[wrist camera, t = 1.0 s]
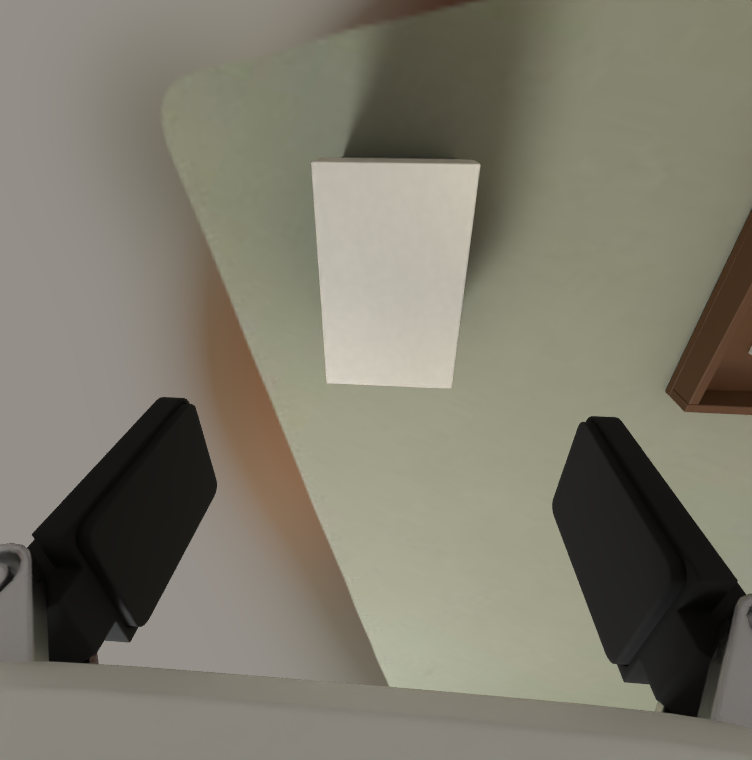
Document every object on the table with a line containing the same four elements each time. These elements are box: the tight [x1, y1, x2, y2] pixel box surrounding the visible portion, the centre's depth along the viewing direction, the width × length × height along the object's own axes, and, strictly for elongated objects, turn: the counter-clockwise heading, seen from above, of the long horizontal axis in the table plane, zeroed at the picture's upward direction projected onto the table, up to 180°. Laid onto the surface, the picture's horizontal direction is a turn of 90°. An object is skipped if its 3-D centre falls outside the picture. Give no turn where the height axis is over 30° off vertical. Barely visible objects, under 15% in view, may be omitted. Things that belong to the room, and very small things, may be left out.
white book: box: [311, 158, 481, 389], centre depth 19 cm, size 10×7×2 cm, turn 0°
